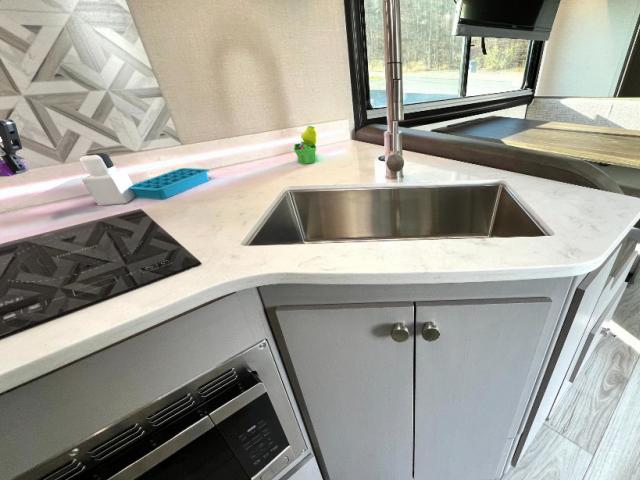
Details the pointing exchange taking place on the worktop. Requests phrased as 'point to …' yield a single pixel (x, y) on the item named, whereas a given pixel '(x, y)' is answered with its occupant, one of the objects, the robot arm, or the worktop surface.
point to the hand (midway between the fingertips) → (12, 172)
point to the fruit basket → (307, 146)
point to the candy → (8, 169)
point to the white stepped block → (106, 180)
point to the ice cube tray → (170, 183)
